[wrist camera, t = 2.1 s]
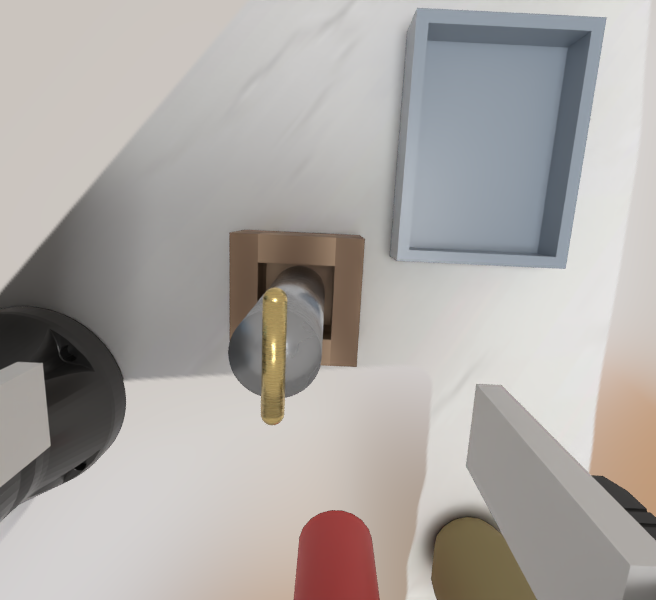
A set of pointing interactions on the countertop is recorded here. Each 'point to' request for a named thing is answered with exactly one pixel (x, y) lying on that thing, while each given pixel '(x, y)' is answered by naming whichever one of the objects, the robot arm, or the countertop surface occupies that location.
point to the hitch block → (315, 253)
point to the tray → (493, 136)
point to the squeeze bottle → (476, 564)
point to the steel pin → (281, 340)
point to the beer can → (335, 559)
